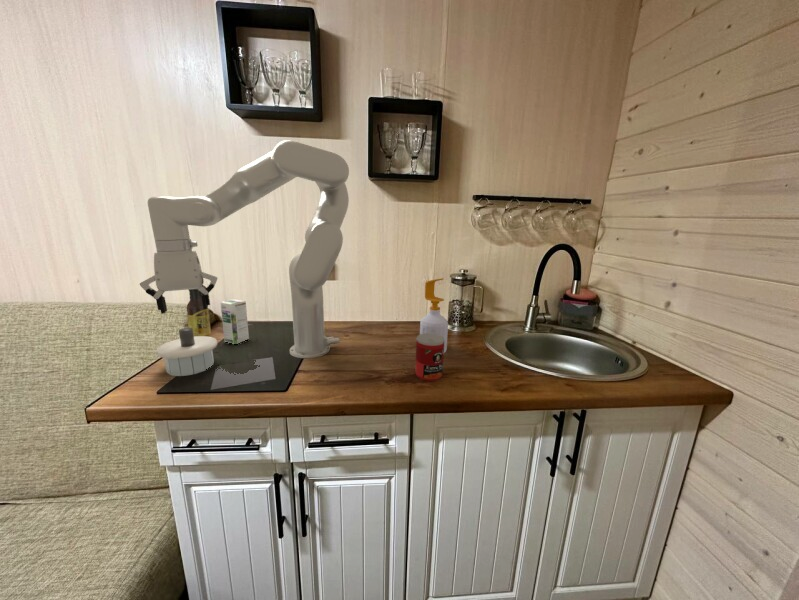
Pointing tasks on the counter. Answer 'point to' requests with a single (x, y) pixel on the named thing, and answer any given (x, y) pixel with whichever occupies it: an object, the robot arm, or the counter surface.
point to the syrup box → (234, 321)
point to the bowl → (189, 364)
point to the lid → (186, 345)
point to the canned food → (429, 356)
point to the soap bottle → (434, 315)
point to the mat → (245, 375)
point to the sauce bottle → (198, 314)
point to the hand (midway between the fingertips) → (185, 310)
